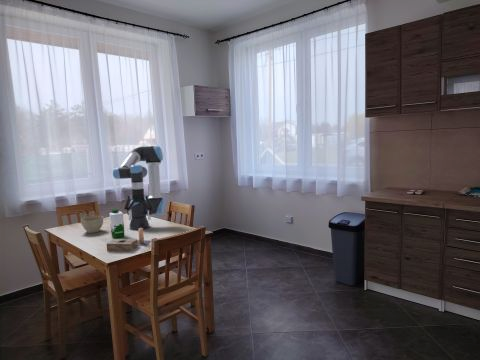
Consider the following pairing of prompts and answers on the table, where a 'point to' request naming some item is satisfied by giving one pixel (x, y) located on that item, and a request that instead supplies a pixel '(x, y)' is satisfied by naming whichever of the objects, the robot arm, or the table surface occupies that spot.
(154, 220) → the table surface
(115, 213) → the milk carton
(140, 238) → the peg
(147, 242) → the mat
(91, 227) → the planter bowl
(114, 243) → the hole block
